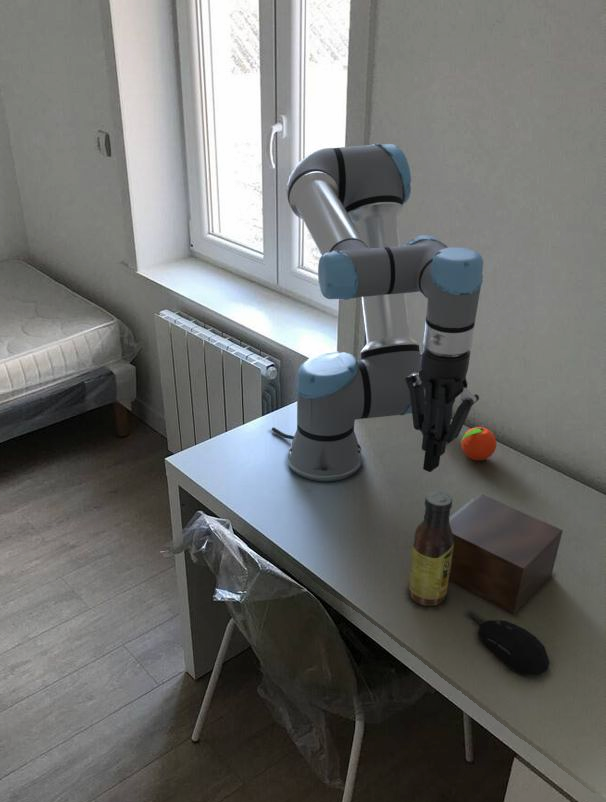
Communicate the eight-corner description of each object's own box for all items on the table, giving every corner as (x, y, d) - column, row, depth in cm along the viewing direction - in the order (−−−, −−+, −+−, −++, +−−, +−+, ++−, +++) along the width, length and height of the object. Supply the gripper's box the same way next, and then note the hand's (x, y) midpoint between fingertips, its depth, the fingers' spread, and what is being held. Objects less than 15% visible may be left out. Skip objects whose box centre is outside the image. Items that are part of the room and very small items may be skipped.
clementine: (465, 470, 159) (470, 441, 155) (448, 453, 165) (452, 424, 161) (500, 463, 161) (505, 434, 157) (482, 446, 166) (487, 417, 162)
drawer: (425, 560, 136) (430, 524, 132) (462, 529, 143) (467, 494, 138) (502, 600, 127) (510, 564, 123) (537, 565, 134) (546, 530, 129)
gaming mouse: (484, 608, 127) (488, 590, 125) (557, 667, 116) (562, 649, 114) (455, 622, 125) (458, 604, 123) (527, 685, 114) (531, 667, 112)
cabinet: (435, 572, 135) (441, 528, 129) (474, 537, 142) (482, 494, 136) (513, 614, 126) (523, 568, 120) (551, 574, 133) (563, 530, 127)
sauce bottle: (446, 610, 127) (461, 514, 116) (407, 606, 128) (418, 510, 117) (445, 583, 132) (459, 488, 121) (408, 579, 134) (418, 485, 122)
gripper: (399, 343, 127) (388, 462, 140) (469, 368, 119) (451, 491, 132) (425, 328, 131) (412, 445, 144) (495, 351, 123) (474, 472, 137)
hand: (430, 467), depth 138 cm, fingers closed
